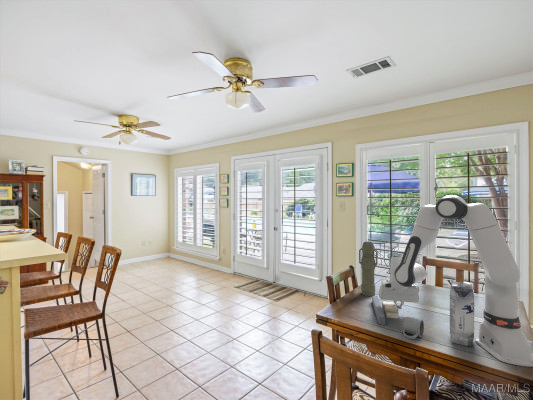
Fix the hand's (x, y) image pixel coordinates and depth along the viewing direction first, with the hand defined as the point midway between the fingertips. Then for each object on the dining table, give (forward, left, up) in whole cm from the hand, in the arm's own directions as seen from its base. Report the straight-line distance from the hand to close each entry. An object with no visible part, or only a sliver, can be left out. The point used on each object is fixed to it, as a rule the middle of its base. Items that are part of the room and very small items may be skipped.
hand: (398, 308), depth 153 cm
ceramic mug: (-23, -2, -4) cm, 23 cm away
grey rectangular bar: (0, +11, -3) cm, 11 cm away
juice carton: (-23, -22, -3) cm, 32 cm away
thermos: (+29, +13, -3) cm, 32 cm away
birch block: (-1, +4, -3) cm, 6 cm away
